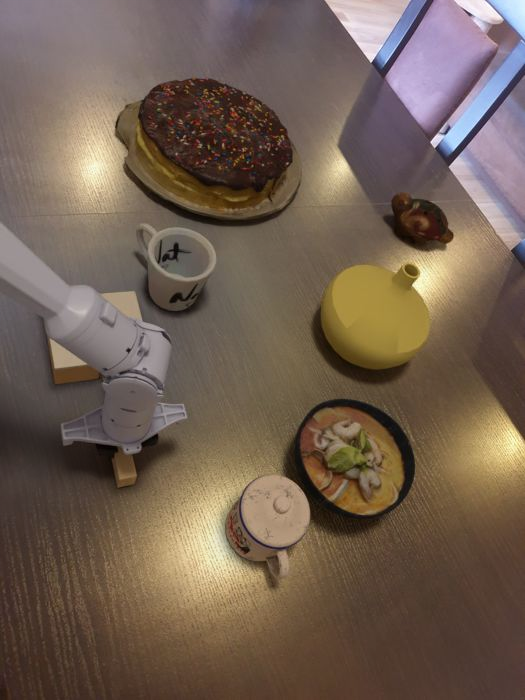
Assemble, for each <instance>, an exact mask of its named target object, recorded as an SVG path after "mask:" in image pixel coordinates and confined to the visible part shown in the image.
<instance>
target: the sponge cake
mask: <svg viewBox="0 0 525 700" xmlns="http://www.w3.org/2000/svg"><path fill="white" fill-rule="evenodd" d="M99 294H100V295H101V296H103V297H104V298H105V299H106V300H108V301H109V302H110V303H111V304H112V305H114V306H115V307H116V308H117V309H118V310H120V311H121V312H122V313H123V314H125V315H126V316H127V317H128V318H130V317H134V318H138V319H139V320H141V321H143V317H142V313H141V310H140V306H139V301H138V298H137V293H136V291H135V290H131V291H130V290H129V291H117V292H116V291H115V292H106V293H99ZM143 322H144V321H143ZM46 339H47V345H48V350H49V356H50V362H51V370H52V375H53V381H54V384H55V385H62V384H70V383H75V382H82V381H84V382H85V381H91V380H99V378H100V372H98V371H97V370H95V369H94V368H92V367H91V366H89V365H88V364H87V363H85V362H84V361H82V360H81V359H79V358H78V357H76V356H75V355H73V354H72V353H71V352H69V351H68V350H66V349H65V348H63V347H62V346H61V345H59V344H58V343H56V342H55V341H53V340H52V339H50V338H49V337H48V336H47V335H46Z"/></svg>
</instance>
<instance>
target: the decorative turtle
mask: <svg viewBox="0 0 525 700" xmlns="http://www.w3.org/2000/svg"><path fill="white" fill-rule="evenodd" d="M390 203H391V210H392V213H393V215H394V217H395V219H396V227H395V233H396V236H397V237H407V236H408V237H409V236H410V237H411V238H412V240H413V242H414V245H415V246H421V245H423V244H426V243H428V242H429V243H430V242H435V241H437V242H438V243H441V244H444V245H447V244H450V243H451V242H452V241H453V240H454V236H455V235H454V232H453V231H452V229H450V228H449V221H448V218H447V216H446V214H445V212H444V211H443V210H442V208H441V207H439V206H438V205H437V204H436V203H434V202H432V201H430V200H428V199H425V198H412V195H410V194H409V193H407V192H398V193H396V194H395V195H394V196H393V197H392V199H391V201H390Z"/></svg>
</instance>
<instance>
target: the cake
mask: <svg viewBox="0 0 525 700" xmlns="http://www.w3.org/2000/svg"><path fill="white" fill-rule="evenodd" d="M114 128H115V130H116V131H117V133H118V134H119V135H120V137H121V138H122V140H123V141H124V143H125V145H126V146H127V148H128V149H127V150H128V152H127V156H124V157H123V162H124V164H125V166H126V167H127V169H128V170H130V172H132V173H133V174H134V175H135V176H136V178H137V179H139V181H140V182H141V183H142V184H143V185H144V186H145V187H146V188H147V189H148V190H150V191H151V192H152V193H154V194H155V195H157V196H158V197H160V198H161V199H164V200H165V201H168V202H169V203H171V204H173V205H175V206H176V207H178V208H179V209H181V210H183V211H187V212H190V213H192V214H196V215H200V216H203V217H207V218H212V219H217V220H221V221H241V220H243V221H246V220H257V219H261V218H264V217H267V216H269V215H271V214H274V213H277V212H280V211H281V210H282V209H284V207H285V206H287V205H288V204H289V203H290V202H291V201H292V199H293V198H294V197H295V196H296V194H297V192H298V191H299V188H300V186H301V183H302V176H303V173H302V164H301V160H300V156H299V153H298V151H297V149H296V146H295V144H294V143H293V142H292V140H291V139H290V138H289V134H288V129H287V128H286V126H285V125H283V123H282V122H281V120H280V117H279V116H278V115H277V114H276V111H274V109H271V108H270V107H269V106H268V105H267V104H265V103H264V102H262V100H260V99H258V98H256V97H254V96H253V95H252V94H249V93H248V92H247V93H246V92H245V91H243V90H240V89H238V88H236V87H233V86H231V85H229V84H227V83H222V82H220V81H218V79H213V78H207V77H206V78H196V77H190V78H187V79H183V80H180V79H173V80H170V81H166V82H161V83H158V84H157V85H155V86H154V87H152V88H151V89H150V90H149V92H148V93H147V94H146V95H145V96H144V98H143V99H141V100H138V101H135V102H131V103H128V104H125V105H124V109H123V110H121V111H120V112H119V113H118V115H117V118H116V121H115V124H114Z"/></svg>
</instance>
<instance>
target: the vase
mask: <svg viewBox="0 0 525 700" xmlns="http://www.w3.org/2000/svg"><path fill="white" fill-rule="evenodd" d="M420 276H421V270H420V269H419V267H418V266H417V265H416V264H414V263H412V262H408V261H407V262H404V263H403V264H402V265H401V266H400V268H399V269H398V271H397V272H394V271H393V270H390V269H388V268H385V267H382V266H378V265H373V264H356V265H354V266H351V267H348V268H345V269H344V270H342V271H340V272H339V273H338V274H337V275H335V276H334V277H333V278H332V280H331V281H330V283H329V284H328V286H327V287H326V289H325V291H324V293H323V295H322V299H321V303H320V321H321V328H322V331H323V333H324V336H325V338H326V340H327V342H328V344H329V345H330V346H331V348H332V349H333V351H334V352H336V354H337V355H339V356H340V357H341V359H343V360H344V361H346V362H348V363H350V364H351V365H355V366H357V367H359V368H363V369H369V370H384V369H390V368H394V367H398V366H399V367H400V366H401V365H404V364H405V363H407V362H409V361H411V360H412V359H414V357H415V356H416V355H417V354H419V353H420V351H421V350H422V349H423V348H424V347H425V345H426V342H427V340H428V338H429V334H430V332H431V317H430V312H429V309H428V306H427V304H426V302H425V301H424V298H423V297H422V296H421V294H420V293H419V292H418V290H417V289H416V288H415V286H413V285H414V283H415V282H416V281H417V280H418V279H419V277H420Z"/></svg>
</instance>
